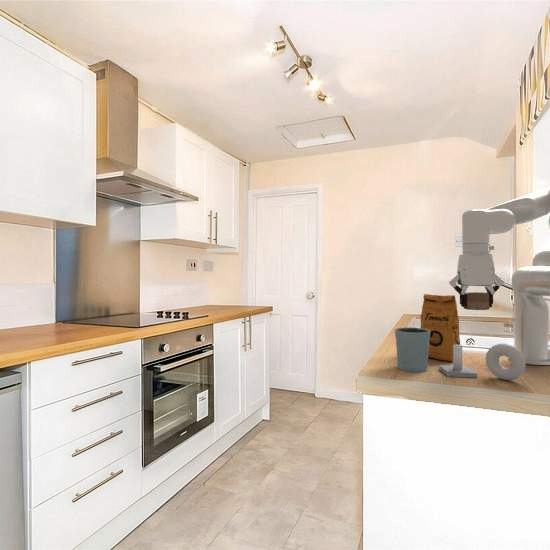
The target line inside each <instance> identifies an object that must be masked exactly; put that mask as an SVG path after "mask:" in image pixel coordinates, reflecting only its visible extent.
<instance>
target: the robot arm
mask: <svg viewBox="0 0 550 550" xmlns="http://www.w3.org/2000/svg"><path fill="white" fill-rule="evenodd" d="M546 215H547V216H548V217H547V222H548V227H549V228H550V186H549V187H546V188H542V189H540V190H536V191H534V192H532V193H529V194H526V195H524V196H521V197H518V198H515V199H512V200H509V201H506V202H504V203H500V204H497V205H494V206H492V207H488V208H486V209H481V208H480V209H470V210H466V211H464V212H463V213H462V215H461V225H462V226H461V229H462V230H461V233H462V234H461V236H462V237H461V238H462V239H461V243H462V245H461V246H462V247H461V248H462V254H459V256H458V262H457V270H456V275H455V276H454V277H453V278H452V279H451V280H449V282H448V285H450V286H451V287H452V288H453V289H454V290H455V291H456V292H457V293H458V295H459V304H460V306H461V307H462V308H464V307H467V295H466V293H467V290H468V288H469V287H484V290H485V291H486V293H489V308H492V307H493V304H494V295H495V293H496V292H497V291H498V290H499V289H500V287H502V286H503V284H504V283H505V281H504V280H502V279H501V278H500V277H499V276H498V275H497V274H496V271H495V270H496V269H495V261H494V259H493V254H492V253H491V251H493V250H495V246H494V245H491V243H490V235H497V234H504V233H507V232H510V231H512V230H513V229H514V227H515V225H522V224H526V223H528V222H532V221H534V220H535V221H536V220H537V219H540V218H541V217H543V216H546ZM511 287H512V292H513V298H514V334H513V335H514V343H513V344H514V346H513V347H515V348H517V349H518V350H519V351H520V352H521V353H522V355H523V357H524V359H525V364H526V365H534V366H550V348H549V346H550V345H549V339H550V338H549V336H550V334H549V333H550V324H549V323H550V308H549V305H548V303H547V301H546V300H545V298H544V297H550V237H548V239H547V240H546V242H545V243H543V245H542V246H541V248H540V249H539V250H538V251H537V252H536V254H535V255H534V257H533V258H532V266H525V267H520V268H518V269H516V270H515V271H514V272H513V274H512V276H511Z"/></svg>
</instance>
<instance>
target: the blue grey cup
mask: <svg viewBox="0 0 550 550" xmlns="http://www.w3.org/2000/svg"><path fill="white" fill-rule="evenodd" d="M394 334H395V346H396V348H395V349H396V360H397V362H396V363H397V364H396V365H397V369H398V368H399V371H400V370H401V371H403V372H410V373H425V372H427V371H428V360H429V357H428V351H429V339H430V330H427V329H422V328H421V327H406V326H405V327H397V328H395V329H394Z"/></svg>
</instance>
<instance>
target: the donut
mask: <svg viewBox="0 0 550 550" xmlns="http://www.w3.org/2000/svg"><path fill="white" fill-rule="evenodd" d="M501 357H506V358H508V360H509V361H510V366H509V367H504V366H503V365H502V364H501V363H500V358H501ZM485 364H486V367H487V369H488V370H489V371H490V372H491V374H492V375H494V376H495V377H497V379H500V380H503V381H513V380H518V379H519V378H520V377H521V376H523V375H524V372H525V370H526V366H527V364H525V359H524V357H523V355H522V353H521V352H520V351H519V350H518V349H517V348H515V347H514V346H513V345H511V344H509V343H497V344H495V345H494V344H493V345H492V346H491V347H490V348H488V350H487V352H486V354H485Z"/></svg>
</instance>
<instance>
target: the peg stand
mask: <svg viewBox="0 0 550 550" xmlns="http://www.w3.org/2000/svg"><path fill="white" fill-rule="evenodd" d="M438 366H439V367H438V369H439V370H441V373H442V374H444V375H445V376H446V377H449V376H451V378H456V377H457V378H459V377H460V378H475V377H477V378H478V375H479V373H478V372H476V371H475V370H473V369H471V368H470V367H469V366H463V345H462V344H460V345H453V362H452V365H438Z"/></svg>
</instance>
